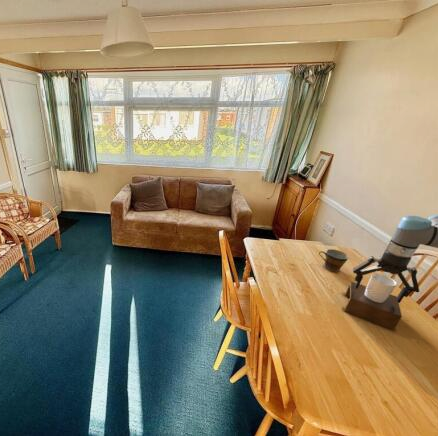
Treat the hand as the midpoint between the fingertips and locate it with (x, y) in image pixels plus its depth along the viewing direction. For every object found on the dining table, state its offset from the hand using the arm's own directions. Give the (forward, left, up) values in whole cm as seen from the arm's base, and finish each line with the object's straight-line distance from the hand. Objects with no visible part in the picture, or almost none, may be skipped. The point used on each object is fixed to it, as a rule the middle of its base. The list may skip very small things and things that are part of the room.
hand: (376, 293), depth 100 cm
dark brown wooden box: (0, 0, -10) cm, 10 cm away
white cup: (0, 0, -2) cm, 2 cm away
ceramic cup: (+16, -28, -10) cm, 34 cm away
